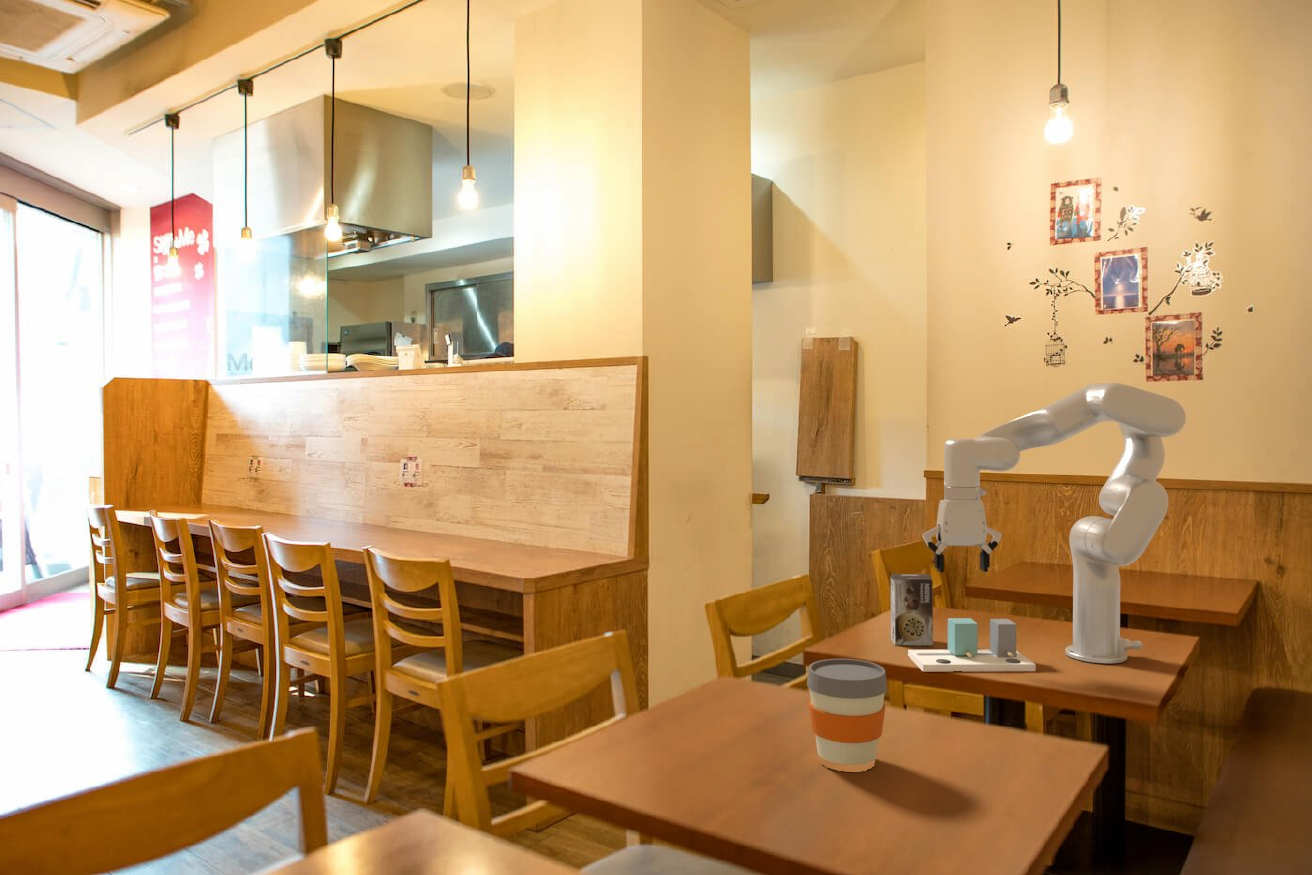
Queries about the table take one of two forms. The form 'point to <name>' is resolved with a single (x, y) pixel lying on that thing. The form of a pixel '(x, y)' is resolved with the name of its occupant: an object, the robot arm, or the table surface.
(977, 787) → the table surface
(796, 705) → the table surface
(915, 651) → the board
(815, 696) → the reusable coffee cup
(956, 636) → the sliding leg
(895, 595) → the coffee box
